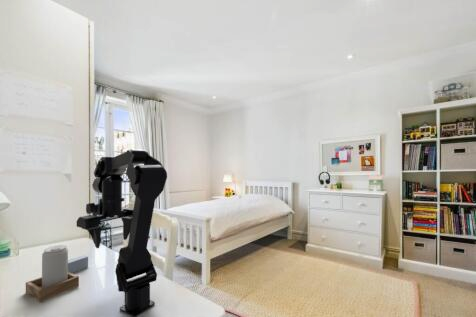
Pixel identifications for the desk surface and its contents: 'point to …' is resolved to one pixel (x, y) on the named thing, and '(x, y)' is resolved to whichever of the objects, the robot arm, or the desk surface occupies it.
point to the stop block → (77, 264)
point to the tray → (50, 288)
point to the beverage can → (54, 265)
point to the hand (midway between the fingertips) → (111, 243)
